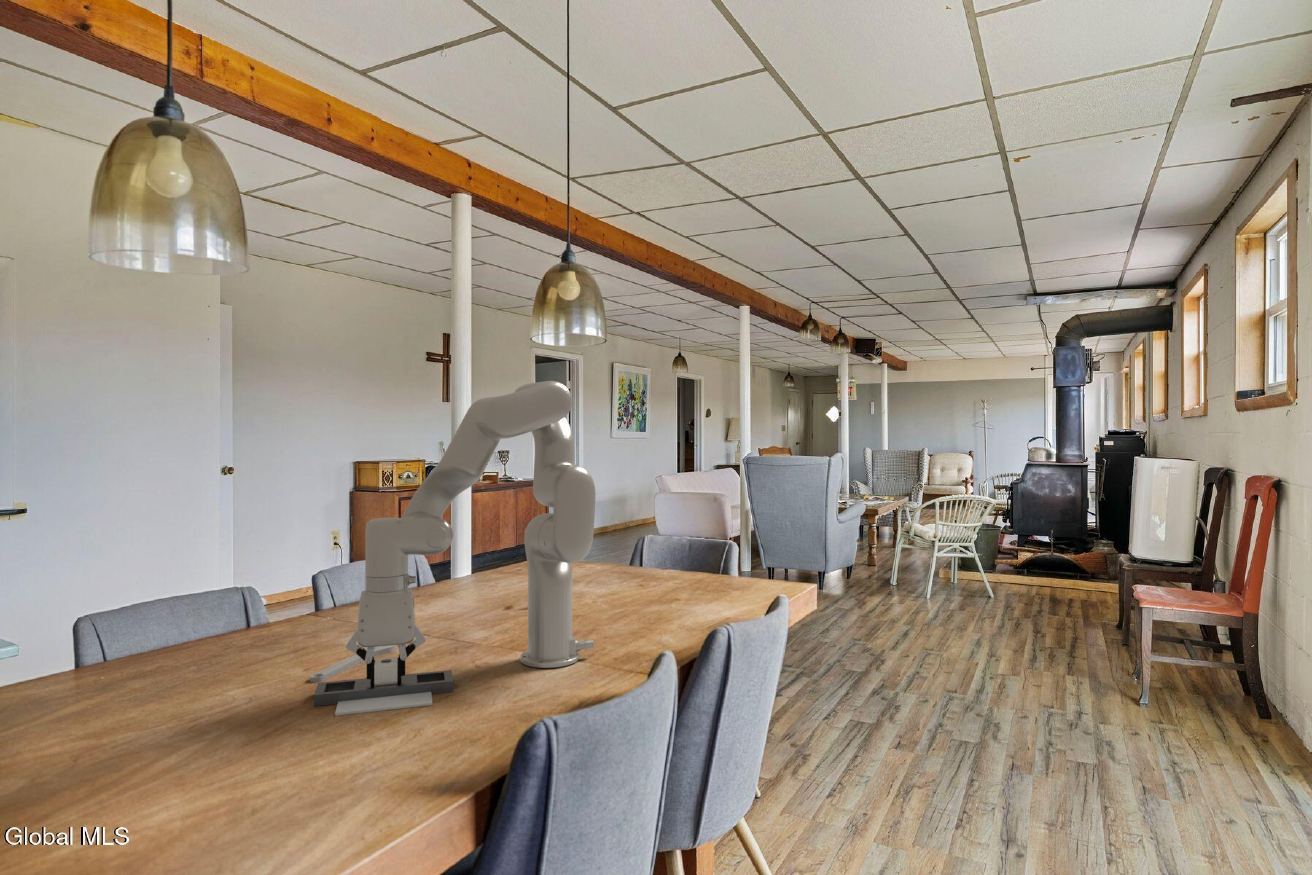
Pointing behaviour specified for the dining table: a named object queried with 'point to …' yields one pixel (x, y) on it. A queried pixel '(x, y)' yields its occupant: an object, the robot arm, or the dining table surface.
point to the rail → (363, 690)
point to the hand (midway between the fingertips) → (386, 680)
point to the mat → (383, 703)
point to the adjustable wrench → (348, 664)
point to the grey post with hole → (385, 672)
